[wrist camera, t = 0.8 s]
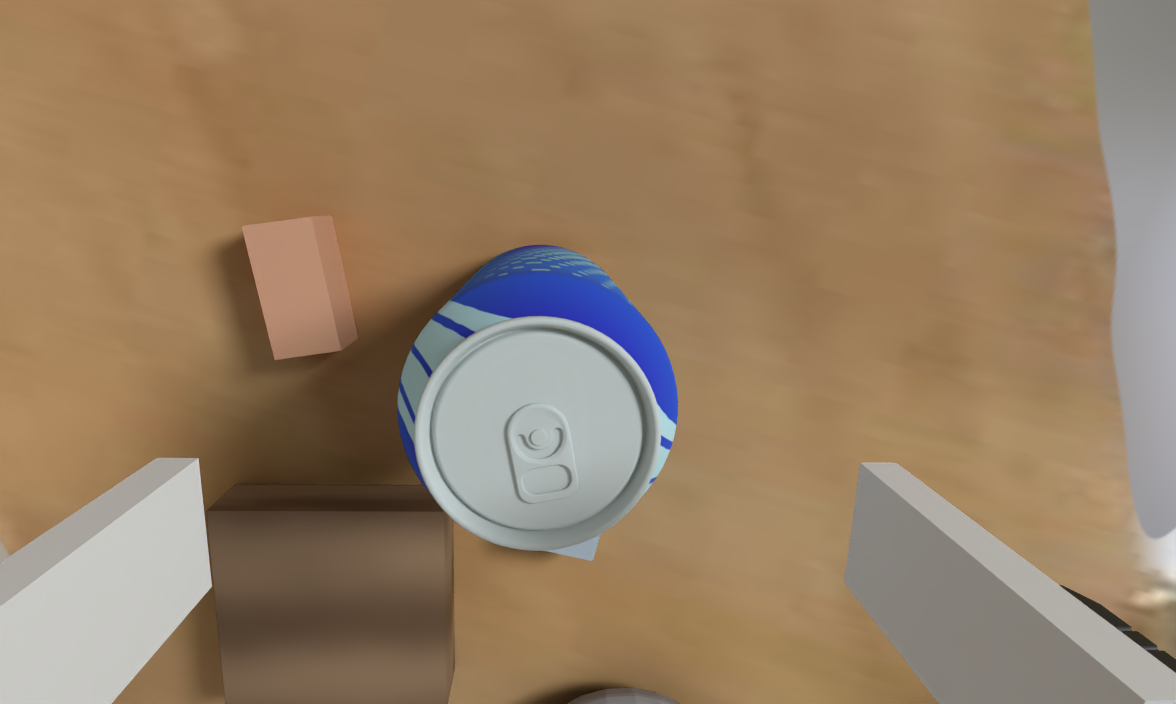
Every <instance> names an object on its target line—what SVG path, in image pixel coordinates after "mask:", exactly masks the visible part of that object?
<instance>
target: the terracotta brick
mask: <svg viewBox="0 0 1176 704" xmlns="http://www.w3.org/2000/svg"><path fill="white" fill-rule="evenodd" d="M241 227H242V231H243V235H244V239H245V243H246V247H247V251H248V255H249V259H250V263H251V267H252V271H253V275H254V279H255V283H256V287H257V291H258V295H259V299H260V303H261V307H262V311H263V315H264V319H265V323H266V327H267V331H268V335H269V339H270V343H271V347H272V351H273V355H274V359H275V360H279V359H286V358H293V357H301V356H308V355H315V354H322V353H329V352H336V351H342V350H343V349H344V348H346V347H347V346H348V345H350V344H351V343H353V342H354V341H355V340H357V339H358V334H357V329H356V325H355V320H354V315H353V311H352V306H351V302H350V297H349V292H348V288H347V283H346V279H345V274H344V269H343V265H342V260H341V256H340V251H339V246H338V242H337V237H336V232H335V228H334V223H333V219H332V215H331V216H314V217H305V218H298V219H290V220H283V221H276V222H268V223H261V224H253V225H246V226H241Z"/></svg>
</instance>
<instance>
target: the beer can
mask: <svg viewBox="0 0 1176 704" xmlns="http://www.w3.org/2000/svg"><path fill="white" fill-rule="evenodd" d="M397 411H398V424H399V429H400V435H401V439H402V442H403V446H404V449H405V452H406V454H407V457H408V459H409V461H410V463H411V465H412V467H413V469H414V471H415V473H416V475H417V476H418V478H419V479H420V481H421V482H422V484H423V485H424V486H425V488H426V489H427V490H428V491H429V493H430V494H431V495H432V496H433V497H434V499H435V500H436V502H437V503H438V504H439V506H440V507H441V508H442V509H443V510H444V511H445V512H446V513H447V514H448V515H449V516H450V517H451V518H452V519H453V520H454V521H455V522H456V523H458V524H459V525H460V526H461V527H463V528H464V529H466V530H467V531H469V532H470V533H472V534H474V535H476V536H478V537H479V538H482V539H484V540H486V541H488V542H491V543H494V544H497V545H500V546H503V547H508V548H512V549H519V550H528V551H545V550H555V549H561V548H566V547H570V546H573V545H576V544H580V543H582V542H585V541H587V540H590V539H592V538H594V537H596V536H598V535H600V534H601V533H603V532H605V531H606V530H608V529H609V528H611V527H612V526H613V525H615V524H616V523H617V522H618V521H620V520H621V519H622V518H623V517H624V516H625V515H626V514H627V513H628V512H629V511H630V510H631V509H632V508H633V507H634V505H635V504H636V503H637V502H638V500H639V499H640V498H641V497H642V495H643V494H644V493H645V492H646V491H647V490H648V489H649V487H650V486H651V484H652V483H653V482H654V480H655V479H656V477H657V476H658V474H659V472H660V470H661V469H662V467H663V465H664V463H665V461H666V459H667V456H668V454H669V452H670V449H671V446H672V443H673V439H674V435H675V430H676V424H677V416H678V398H677V388H676V382H675V377H674V373H673V370H672V366H671V363H670V360H669V358H668V355H667V353H666V351H665V348H664V347H663V345H662V343H661V341H660V339H659V337H658V336H657V334H656V333H655V331H654V330H653V328H652V327H651V326H650V324H649V323H648V322H647V321H646V320H645V318H644V317H643V316H642V315H641V314H640V313H639V311H638V310H637V309H636V308H635V307H634V306H633V304H632V303H631V302H630V301H629V300H628V299H627V297H626V296H625V295H624V294H623V293H622V292H621V290H620V289H619V288H618V287H617V286H616V285H615V283H614V282H613V281H612V280H611V279H610V278H609V276H608V275H607V274H606V273H605V272H604V271H603V270H602V269H601V268H600V267H599V266H597V265H596V264H595V263H594V262H592V261H591V260H589V259H588V258H586V257H585V256H583V255H581V254H579V253H577V252H574V251H572V250H569V249H565V248H562V247H557V246H550V245H531V246H524V247H519V248H516V249H513V250H509V251H507V252H505V253H502V254H500V255H499V256H497V257H495V258H493V259H492V260H490V261H489V262H488V263H486V264H485V265H484V266H483V267H481V268H480V269H479V270H478V271H477V272H476V273H475V274H474V275H473V276H472V277H471V278H470V279H469V280H468V281H467V282H466V284H465V285H464V286H463V287H462V288H461V289H460V290H459V291H458V292H457V293H456V294H455V295H454V296H453V297H452V298H451V299H450V300H449V301H448V302H447V303H446V304H445V305H444V306H443V307H442V308H441V309H440V310H439V311H438V312H437V313H436V314H435V315H434V316H433V318H432V319H431V320H430V321H429V322H428V323H427V325H426V326H425V327H424V329H423V330H422V331H421V333H420V334H419V336H418V338H417V339H416V341H415V342H414V344H413V346H412V348H411V350H410V353H409V355H408V357H407V360H406V363H405V366H404V368H403V372H402V376H401V380H400V384H399V392H398V408H397Z"/></svg>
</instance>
